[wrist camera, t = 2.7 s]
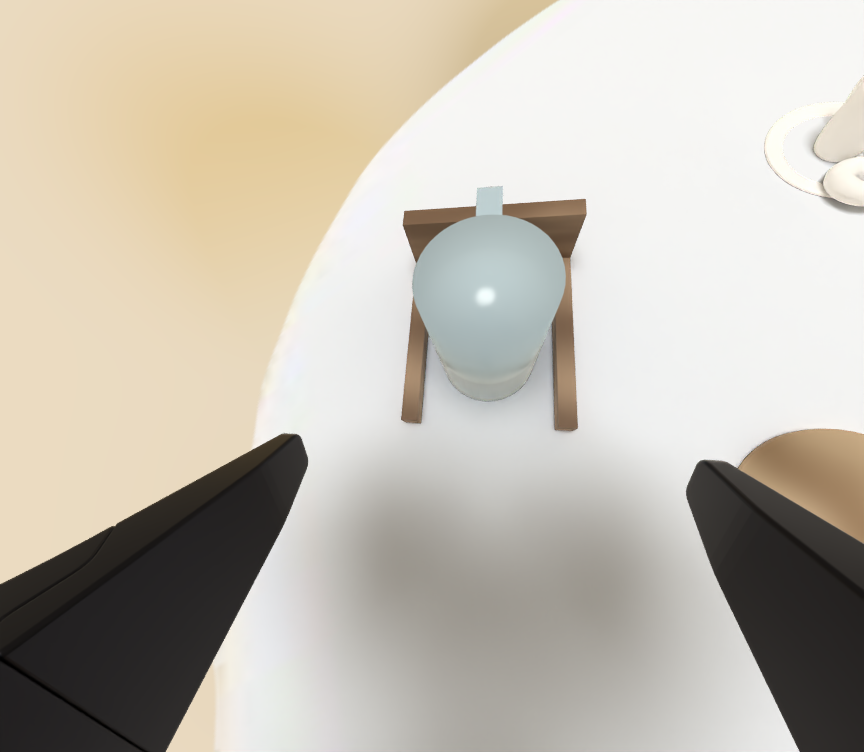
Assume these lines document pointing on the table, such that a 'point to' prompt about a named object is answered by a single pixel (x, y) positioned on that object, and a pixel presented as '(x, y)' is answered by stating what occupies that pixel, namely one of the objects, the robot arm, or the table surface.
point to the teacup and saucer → (827, 148)
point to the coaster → (816, 474)
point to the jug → (489, 297)
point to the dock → (563, 230)
